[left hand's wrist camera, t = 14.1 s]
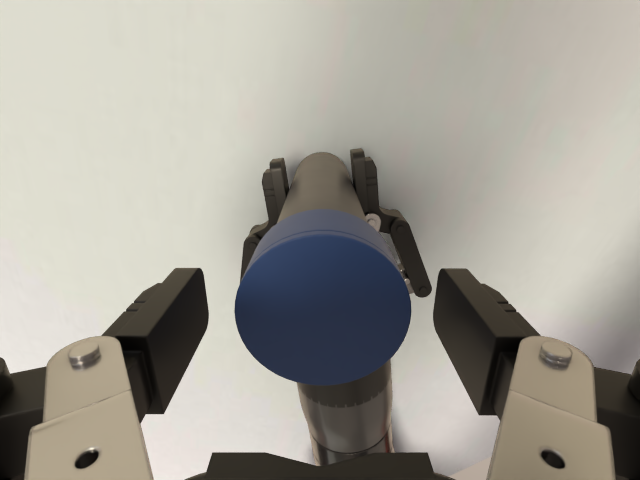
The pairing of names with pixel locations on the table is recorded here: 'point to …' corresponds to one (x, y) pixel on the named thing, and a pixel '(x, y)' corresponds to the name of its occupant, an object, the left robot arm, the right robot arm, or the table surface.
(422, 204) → the table surface
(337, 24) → the table surface
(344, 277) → the lid
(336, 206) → the dark grey capped cylinder
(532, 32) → the table surface
